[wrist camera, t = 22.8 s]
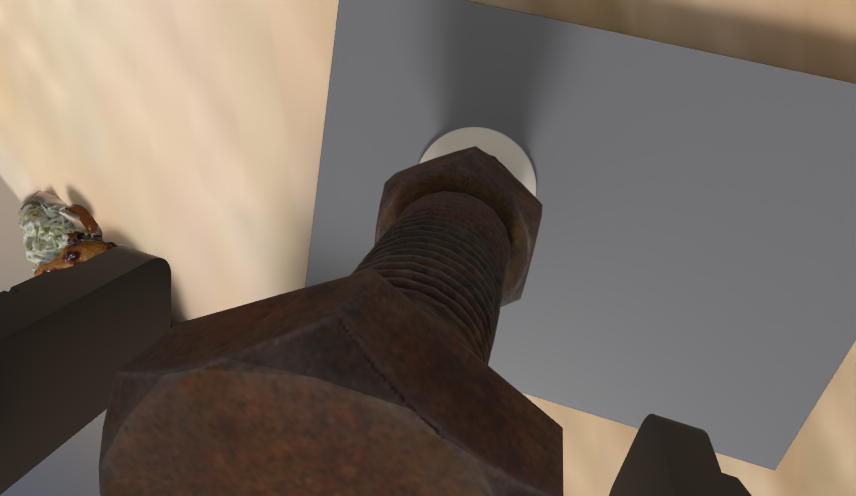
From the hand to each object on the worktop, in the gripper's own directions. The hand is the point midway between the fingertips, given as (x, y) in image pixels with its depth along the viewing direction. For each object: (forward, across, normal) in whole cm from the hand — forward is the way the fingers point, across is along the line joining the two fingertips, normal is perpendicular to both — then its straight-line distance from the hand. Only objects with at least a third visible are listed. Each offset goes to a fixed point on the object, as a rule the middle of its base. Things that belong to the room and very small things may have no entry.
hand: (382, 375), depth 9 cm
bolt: (+12, 0, 0) cm, 12 cm away
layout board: (+13, -4, +1) cm, 14 cm away
